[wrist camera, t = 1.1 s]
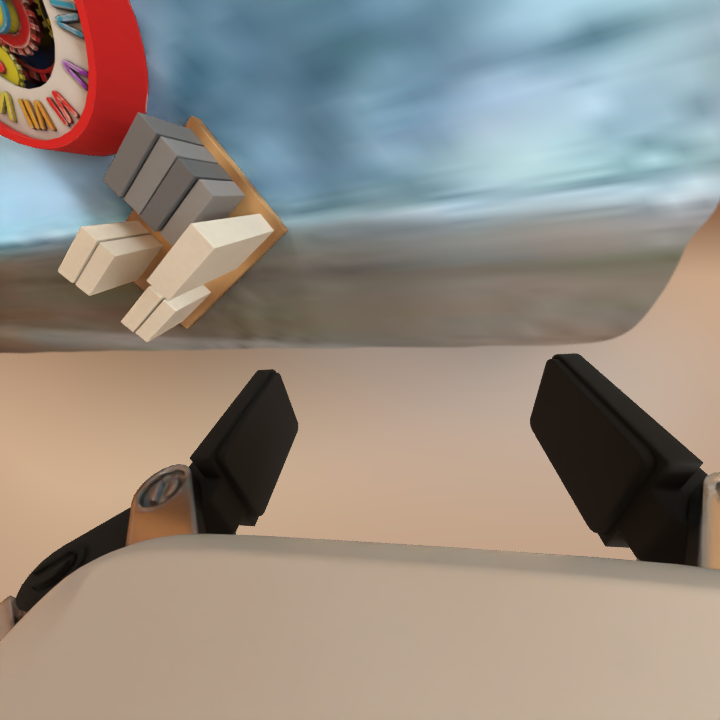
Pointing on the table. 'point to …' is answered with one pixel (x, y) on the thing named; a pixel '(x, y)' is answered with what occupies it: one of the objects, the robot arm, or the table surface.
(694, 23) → the table surface
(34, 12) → the toy clock
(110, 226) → the white books
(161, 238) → the shelf board
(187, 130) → the grey books
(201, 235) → the white book
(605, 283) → the table surface
